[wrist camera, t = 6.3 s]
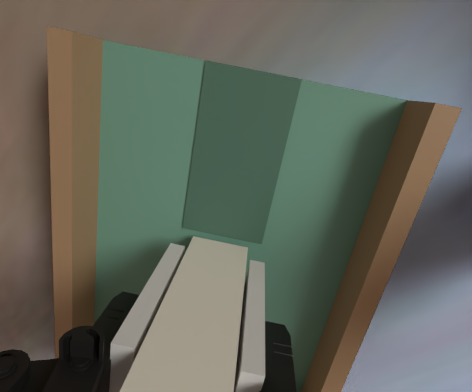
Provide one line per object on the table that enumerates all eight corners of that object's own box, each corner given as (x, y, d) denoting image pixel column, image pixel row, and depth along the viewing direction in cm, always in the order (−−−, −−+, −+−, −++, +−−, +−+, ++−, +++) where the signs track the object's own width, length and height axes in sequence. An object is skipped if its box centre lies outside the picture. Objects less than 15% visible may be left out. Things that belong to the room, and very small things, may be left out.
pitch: (95, 39, 15) (39, 24, 11) (416, 103, 15) (468, 108, 11) (87, 385, 23) (53, 442, 20) (293, 430, 23) (299, 497, 19)
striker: (166, 228, 17) (-34, 518, 5) (275, 251, 16) (300, 594, 5) (155, 317, 19) (-4, 657, 8) (252, 338, 19) (236, 714, 7)
